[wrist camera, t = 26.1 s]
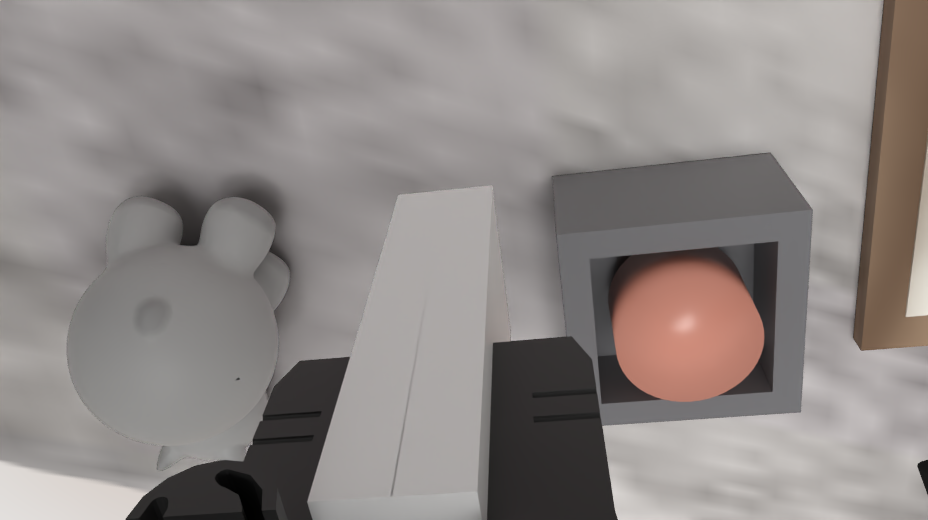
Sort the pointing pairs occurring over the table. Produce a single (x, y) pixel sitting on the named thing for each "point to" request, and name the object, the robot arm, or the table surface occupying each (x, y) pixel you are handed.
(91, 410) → the round bodied animal figurine
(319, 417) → the robot arm
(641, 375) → the button
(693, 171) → the button housing
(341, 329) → the table surface
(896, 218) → the board
